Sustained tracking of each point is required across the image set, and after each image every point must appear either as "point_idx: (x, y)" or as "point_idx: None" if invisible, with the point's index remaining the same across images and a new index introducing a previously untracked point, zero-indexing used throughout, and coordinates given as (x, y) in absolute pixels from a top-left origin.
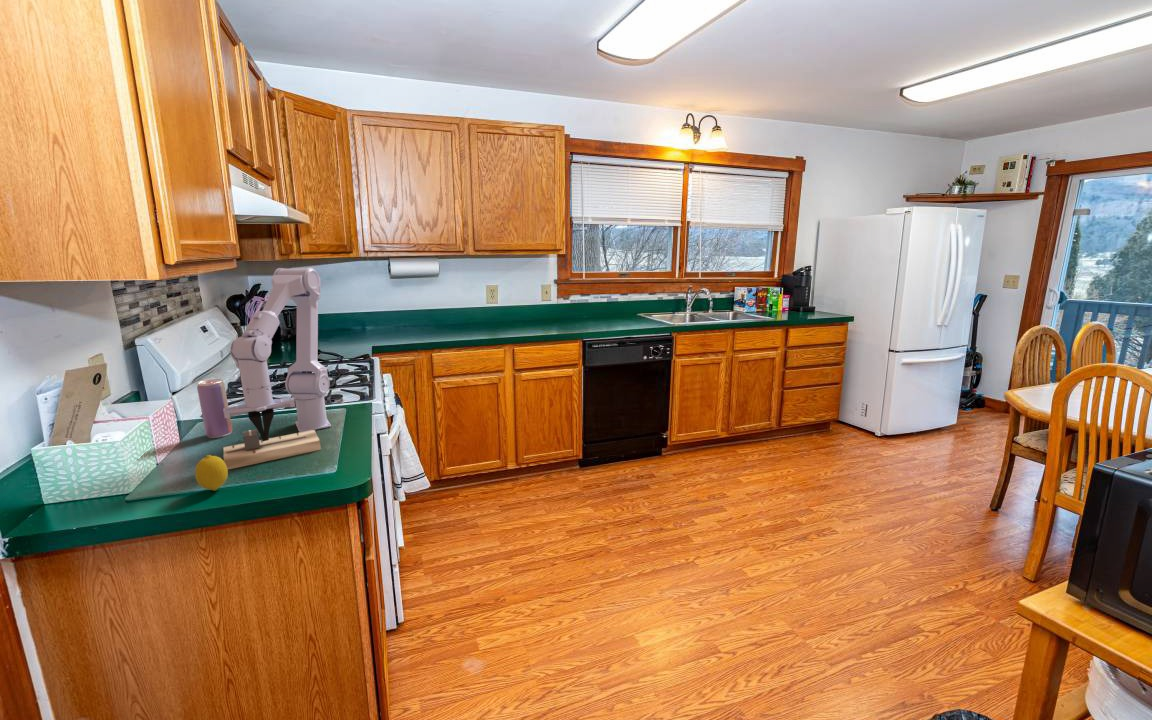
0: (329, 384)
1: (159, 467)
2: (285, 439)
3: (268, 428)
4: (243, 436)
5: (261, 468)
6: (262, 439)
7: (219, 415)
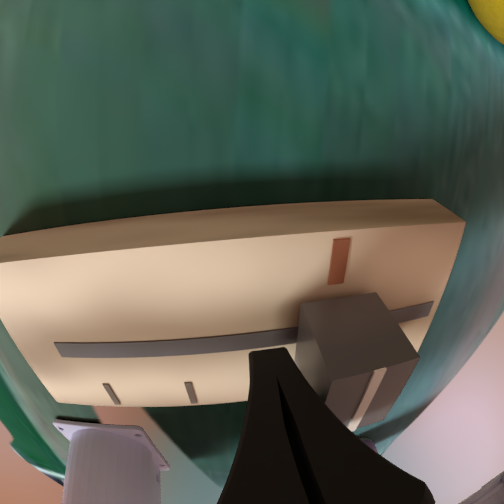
0: None
1: (498, 317)
2: (159, 366)
3: (251, 426)
4: (415, 363)
5: (298, 105)
6: (288, 355)
7: None
